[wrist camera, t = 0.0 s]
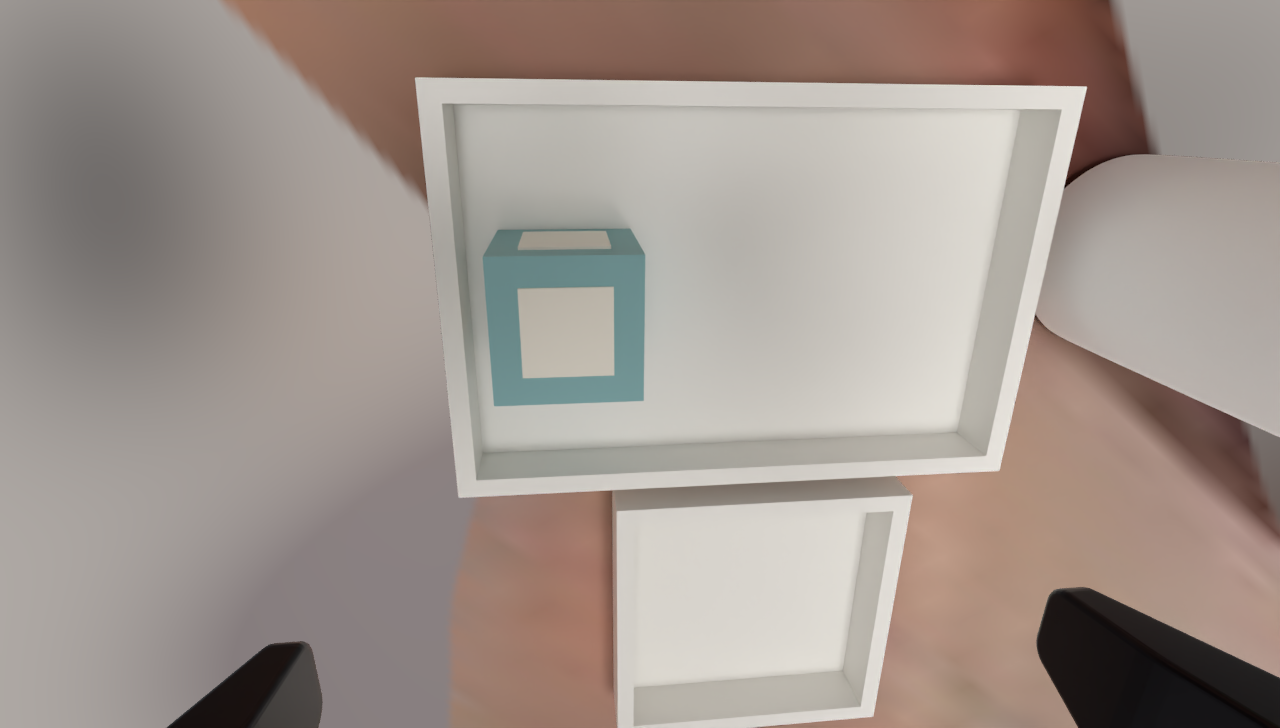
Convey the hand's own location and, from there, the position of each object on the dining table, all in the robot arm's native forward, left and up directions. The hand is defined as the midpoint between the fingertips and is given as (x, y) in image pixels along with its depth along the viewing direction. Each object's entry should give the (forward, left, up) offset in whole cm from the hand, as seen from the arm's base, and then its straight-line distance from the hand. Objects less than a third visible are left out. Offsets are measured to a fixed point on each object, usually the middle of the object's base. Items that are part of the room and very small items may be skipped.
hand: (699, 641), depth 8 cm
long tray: (+1, -4, -15) cm, 15 cm away
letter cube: (+1, +1, -14) cm, 14 cm away
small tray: (-11, -5, -15) cm, 19 cm away
